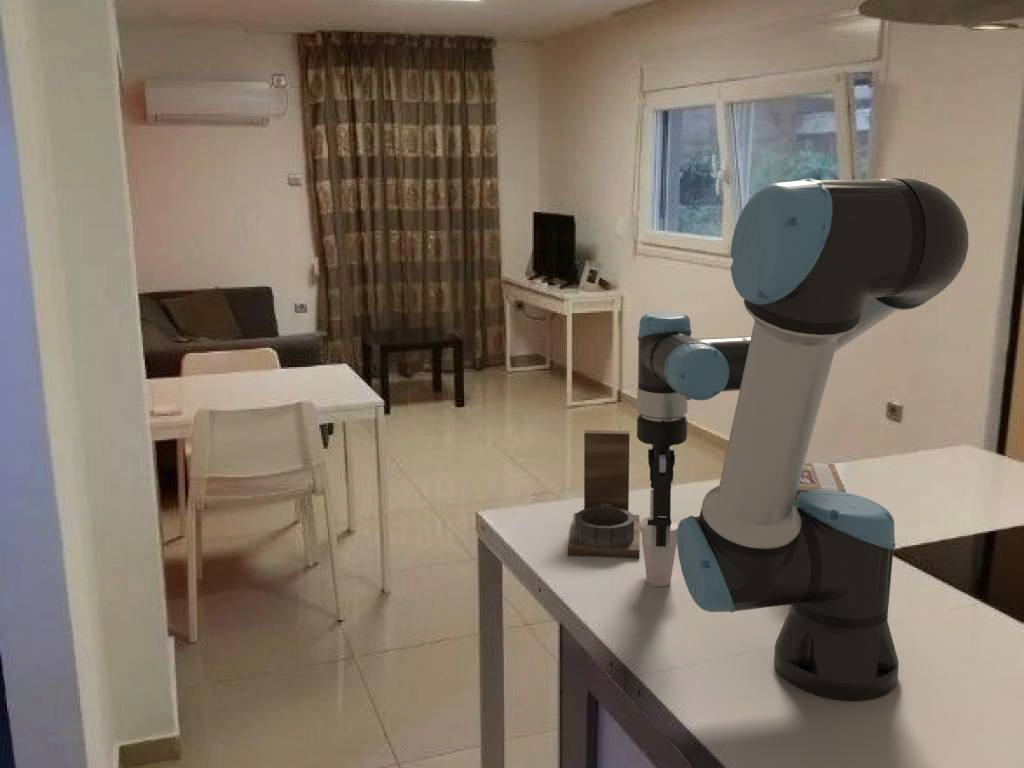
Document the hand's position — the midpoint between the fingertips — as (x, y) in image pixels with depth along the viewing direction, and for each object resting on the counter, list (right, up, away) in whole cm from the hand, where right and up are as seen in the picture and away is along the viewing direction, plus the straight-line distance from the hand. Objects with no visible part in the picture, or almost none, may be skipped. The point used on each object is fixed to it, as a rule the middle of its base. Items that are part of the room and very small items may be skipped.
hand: (659, 545), depth 145 cm
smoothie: (0, -6, +1) cm, 6 cm away
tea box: (+25, -4, +9) cm, 27 cm away
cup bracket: (-7, -2, +18) cm, 19 cm away
